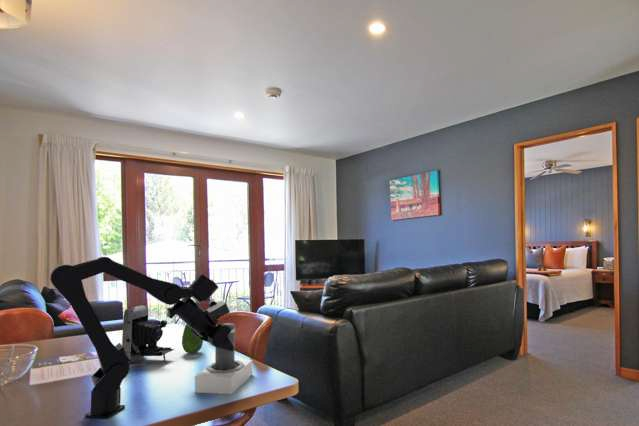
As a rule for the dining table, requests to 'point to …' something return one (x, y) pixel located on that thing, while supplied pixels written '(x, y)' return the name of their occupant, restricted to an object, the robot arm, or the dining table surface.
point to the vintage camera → (141, 334)
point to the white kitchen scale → (223, 378)
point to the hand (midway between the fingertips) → (229, 347)
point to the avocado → (190, 341)
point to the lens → (226, 353)
